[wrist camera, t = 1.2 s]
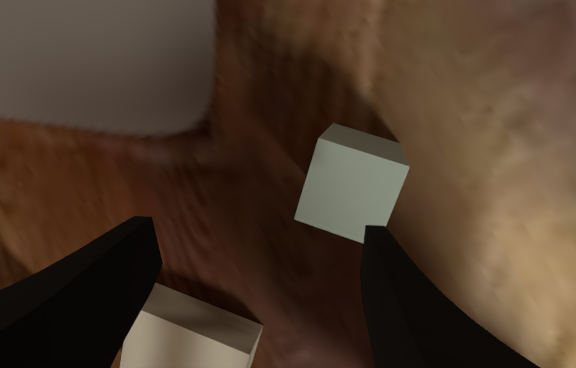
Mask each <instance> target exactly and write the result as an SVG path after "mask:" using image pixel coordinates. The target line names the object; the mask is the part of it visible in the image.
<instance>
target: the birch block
mask: <svg viewBox="0 0 576 368" xmlns="http://www.w3.org/2000/svg"><path fill="white" fill-rule="evenodd" d="M262 328H263V325H261V324H258V323H256V322H253V321H251V320H248V319H246V318H243V317H241V316H238V315H236V314H233V313H231V312H228V311H226V310H223V309H221V308H218V307H216V306H213V305H211V304H208V303H206V302H203V301H201V300H198V299H196V298H193V297H191V296H188V295H186V294H183V293H181V292H178V291H176V290H173V289H171V288H168V287H166V286H163V285H161V284H158V283H156V282H155V285H154V287H153V290H152V291H151V293H150V295H149V297H148V299H147V301H146V303H145V304H144V306H143V308H142V310H141V312H140V313H139V315H138V317H137V319H136V320H135V322H134V324H133V326H132V328H131V329H130V331H129V333H128V335H127V336H126V338H125V340H124V342H123V349H122V357H121V364H120V368H250V367H251V364H252V361H253V357H254V354H255V351H256V347H257V344H258V341H259V338H260V334H261V331H262Z"/></svg>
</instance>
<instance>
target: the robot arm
mask: <svg viewBox="0 0 576 368" xmlns="http://www.w3.org/2000/svg"><path fill="white" fill-rule="evenodd" d="M162 264H163V263H162V258H161V254H160V250H159V245H158V241H157V237H156V233H155V228H154V224H153V220H152V217H141V216H134V217H132V218H130V219H128V220H127V221H125V222H123V223H121V224H120V225H118V226H116V227H115V228H113V229H111V230H110V231H108V232H106V233H105V234H103V235H102V236H100V237H98V238H97V239H95V240H93V241H92V242H90V243H89V244H87V245H85V246H84V247H82V248H80V249H79V250H77V251H75V252H73V253H72V254H70V255H68V256H66V257H65V258H63V259H61V260H59V261H57V262H56V263H54V264H52V265H50V266H49V267H47V268H45V269H43V270H41V271H39V272H37V273H35V274H33V275H31V276H29V277H27V278H25V279H23V280H21V281H19V282H17V283H15V284H13V285H11V286H8V287H6V288H4V289H2V290H0V368H110V367H111V365H112V363H113V361H114V359H115V357H116V355H117V353H118V351H119V349H120V347H121V345H122V344H123V342H124V340H125V338H126V336H127V335H128V333H129V331H130V329H131V328H132V326H133V324H134V322H135V320H136V319H137V317H138V315H139V313H140V312H141V310H142V308H143V306H144V304H145V303H146V301H147V299H148V297H149V295H150V293H151V291H152V290H153V287H154V285H155V282H156V280H157V277H158V275H159V272H160V269H161V267H162ZM360 279H361V292H362V302H363V307H364V312H365V317H366V322H367V327H368V332H369V337H370V342H371V346H372V351H373V356H374V361H375V366H376V368H540V367H538V366H537V365H535V364H534V363H532V362H531V361H529V360H528V359H526V358H525V357H523V356H522V355H520V354H518V353H517V352H515V351H514V350H513V349H511V348H510V347H508V346H507V345H505V344H504V343H503V342H501V341H500V340H498V339H497V338H496V337H494V336H493V335H492V334H490V333H489V332H488V331H487V330H485V329H484V328H483V327H481V326H480V325H479V324H477V323H476V322H475V321H474V320H472V319H471V318H470V317H469V316H467V315H466V314H465V313H464V312H463V311H462V310H461V309H459V308H458V307H457V306H456V305H455V304H454V303H453V302H451V301H450V300H449V299H448V298H447V297H446V296H445V295H444V294H443V293H442V292H441V291H440V290H439V289H438V288H437V287H436V286H435V285H434V284H433V283H432V282H431V281H430V280H429V279H428V278H427V277H426V276H425V274H424V273H423V272H422V271H421V270H420V269H419V268H418V267H417V265H416V264H415V263H414V262H413V261H412V260H411V258H410V257H409V256H408V255H407V254H406V252H405V251H404V250H403V249H402V247H401V246H400V245H399V243H398V242H397V241H396V240H395V238H394V237H393V236H392V234H391V233H390V232H389V230H388V229H387V228H386V227H385V226H379V225H365V234H364V242H363V251H362V260H361V269H360Z"/></svg>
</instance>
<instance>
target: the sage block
mask: <svg viewBox="0 0 576 368" xmlns="http://www.w3.org/2000/svg"><path fill="white" fill-rule="evenodd" d="M409 168H410V166H409V163H408V161H407V158H406V156H405V154H404V151H403V149H402V147H401V144H400V143H398V142H394V141H391V140H388V139H384V138H381V137H378V136H375V135H371V134H368V133H365V132H362V131H358V130H355V129H352V128H348V127H345V126H342V125H339V124H335V123H333V124H332V125H331V126H330V127H329V128H328V129H327V130H326V131H325V132H324V133H323V134H322V135H321V136H320V137H319V138H318V141H317V144H316V148H315V151H314V154H313V158H312V161H311V164H310V168H309V171H308V174H307V177H306V181H305V184H304V187H303V191H302V194H301V197H300V201H299V204H298V207H297V211H296V214H295V217H294V220H297V221H300V222H303V223H306V224H309V225H312V226H314V227H317V228H320V229H323V230H326V231H329V232H331V233H334V234H337V235H340V236H343V237H346V238H349V239H351V240H354V241H357V242H360V243H363V242H364V234H365V225H379V226H385V227H386V225H387V223H388V220H389V218H390V215H391V213H392V210H393V208H394V205H395V203H396V200H397V198H398V195H399V193H400V190H401V188H402V185H403V183H404V180H405V178H406V175H407V173H408V170H409Z"/></svg>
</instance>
